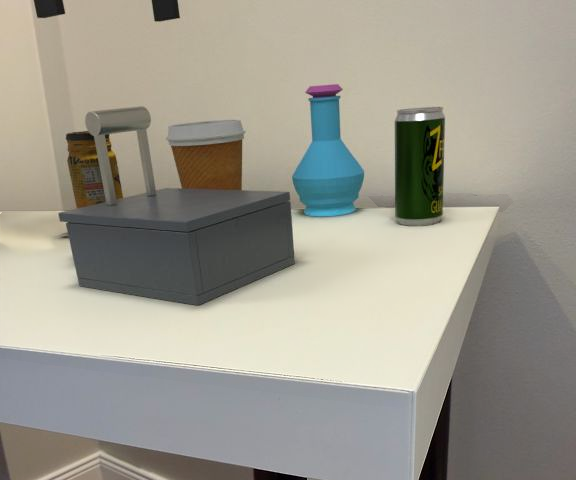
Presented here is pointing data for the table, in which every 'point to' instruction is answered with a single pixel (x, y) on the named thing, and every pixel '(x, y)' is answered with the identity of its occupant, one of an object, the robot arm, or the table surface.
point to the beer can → (419, 165)
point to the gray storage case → (184, 256)
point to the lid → (165, 202)
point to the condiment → (89, 170)
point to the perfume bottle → (327, 160)
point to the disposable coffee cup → (208, 154)
